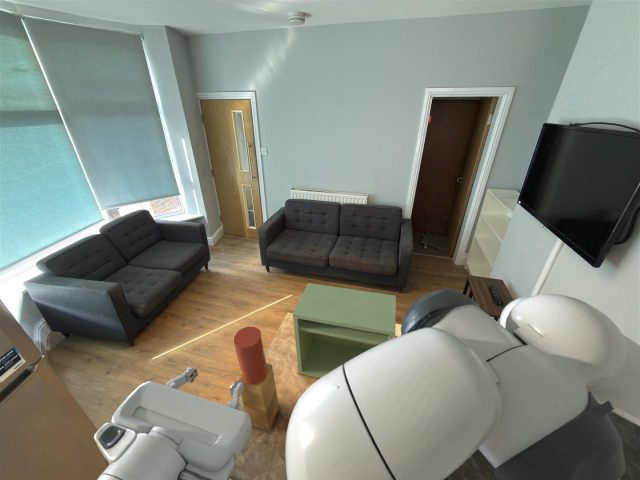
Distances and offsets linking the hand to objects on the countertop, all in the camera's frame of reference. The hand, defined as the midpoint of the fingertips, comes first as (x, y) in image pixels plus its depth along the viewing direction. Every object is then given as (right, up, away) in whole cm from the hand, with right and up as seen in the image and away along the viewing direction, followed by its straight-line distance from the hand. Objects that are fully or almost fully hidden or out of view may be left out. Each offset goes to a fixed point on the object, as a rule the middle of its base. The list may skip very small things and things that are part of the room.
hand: (216, 376), depth 46 cm
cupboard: (+26, -15, +37) cm, 48 cm away
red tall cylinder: (+3, -7, +15) cm, 17 cm away
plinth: (+3, -23, +24) cm, 33 cm away
